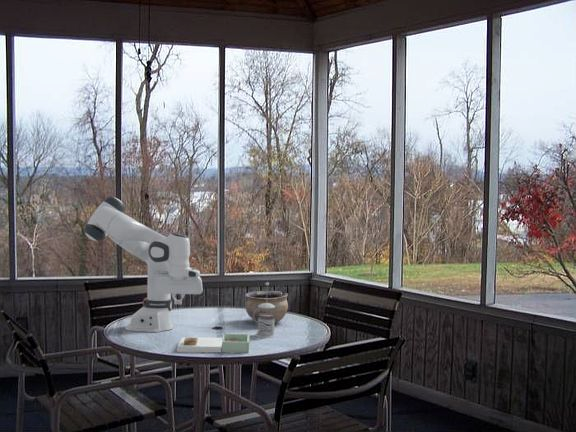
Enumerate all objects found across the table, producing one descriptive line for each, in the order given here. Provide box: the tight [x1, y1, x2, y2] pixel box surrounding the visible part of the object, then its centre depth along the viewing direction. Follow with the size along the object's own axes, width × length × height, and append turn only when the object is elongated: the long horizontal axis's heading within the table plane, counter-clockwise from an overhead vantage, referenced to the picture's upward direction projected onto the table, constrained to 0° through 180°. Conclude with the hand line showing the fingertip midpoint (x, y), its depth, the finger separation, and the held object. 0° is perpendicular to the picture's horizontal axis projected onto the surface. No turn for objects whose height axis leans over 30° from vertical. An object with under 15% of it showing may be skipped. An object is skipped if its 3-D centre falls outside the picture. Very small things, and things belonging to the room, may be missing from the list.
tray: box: [221, 333, 251, 354], centre depth 277 cm, size 11×15×4 cm
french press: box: [252, 282, 277, 339], centre depth 301 cm, size 10×12×25 cm
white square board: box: [176, 336, 224, 353], centre depth 276 cm, size 18×16×2 cm
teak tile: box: [184, 338, 197, 345], centre depth 272 cm, size 5×5×2 cm
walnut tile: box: [227, 339, 239, 342], centre depth 280 cm, size 5×5×2 cm
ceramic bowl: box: [245, 290, 289, 324], centre depth 330 cm, size 22×22×15 cm
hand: (178, 304), depth 272 cm, fingers closed
